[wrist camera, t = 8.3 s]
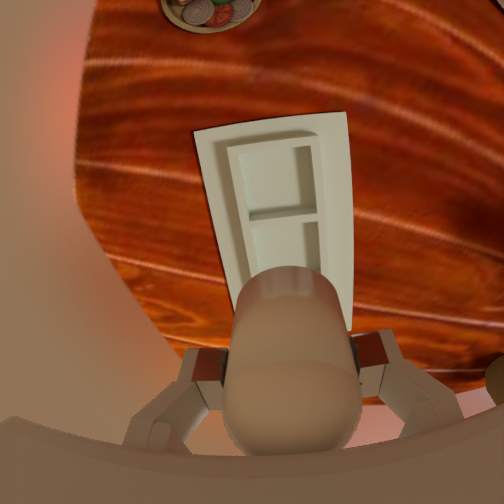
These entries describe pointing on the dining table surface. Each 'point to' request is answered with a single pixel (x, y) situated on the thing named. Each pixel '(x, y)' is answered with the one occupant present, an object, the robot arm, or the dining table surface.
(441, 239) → the dining table surface
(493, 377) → the squeeze bottle
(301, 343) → the egg
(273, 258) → the egg tray
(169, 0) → the toy sandwich meal
